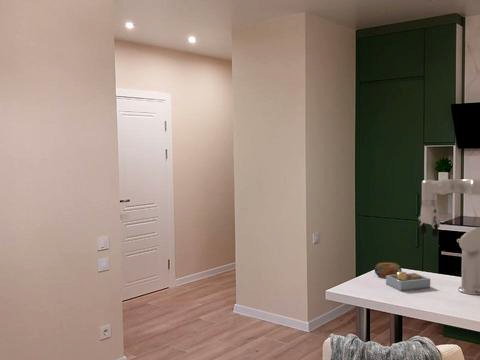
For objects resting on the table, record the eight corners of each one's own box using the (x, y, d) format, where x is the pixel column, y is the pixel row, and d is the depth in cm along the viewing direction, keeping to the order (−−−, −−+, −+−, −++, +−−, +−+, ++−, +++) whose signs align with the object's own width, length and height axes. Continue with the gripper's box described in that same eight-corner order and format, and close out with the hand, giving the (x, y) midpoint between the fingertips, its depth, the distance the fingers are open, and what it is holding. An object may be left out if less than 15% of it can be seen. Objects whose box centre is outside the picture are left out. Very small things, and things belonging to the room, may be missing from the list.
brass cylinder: (408, 286, 263) (408, 273, 262) (399, 286, 262) (399, 273, 261) (403, 284, 267) (403, 271, 267) (395, 284, 267) (395, 271, 266)
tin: (374, 276, 287) (374, 262, 287) (374, 275, 290) (374, 261, 290) (401, 278, 283) (401, 264, 282) (401, 277, 286) (401, 262, 285)
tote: (430, 288, 261) (430, 278, 261) (400, 291, 257) (400, 281, 256) (414, 281, 275) (414, 272, 275) (386, 284, 270) (386, 275, 270)
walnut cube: (421, 284, 265) (421, 275, 265) (413, 285, 264) (413, 276, 263) (415, 282, 270) (415, 273, 270) (407, 283, 269) (407, 274, 268)
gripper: (445, 204, 256) (445, 236, 257) (425, 201, 273) (424, 231, 274) (433, 204, 254) (433, 237, 255) (413, 201, 271) (413, 232, 272)
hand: (429, 234), depth 264 cm, fingers open, 9 cm apart
